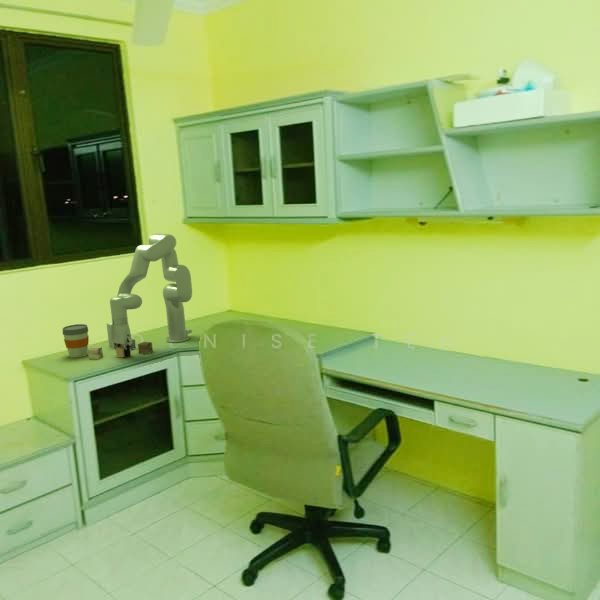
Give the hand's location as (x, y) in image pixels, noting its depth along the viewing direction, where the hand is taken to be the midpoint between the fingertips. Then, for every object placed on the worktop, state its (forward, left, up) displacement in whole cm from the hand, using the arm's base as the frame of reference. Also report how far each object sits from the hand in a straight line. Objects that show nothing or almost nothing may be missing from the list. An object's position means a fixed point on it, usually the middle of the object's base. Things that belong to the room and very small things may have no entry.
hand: (123, 355), depth 305 cm
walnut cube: (-10, +5, -1) cm, 11 cm away
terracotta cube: (0, 0, -1) cm, 1 cm away
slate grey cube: (-11, -9, -1) cm, 14 cm away
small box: (-12, -19, -1) cm, 23 cm away
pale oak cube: (+8, -12, -1) cm, 14 cm away
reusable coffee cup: (+9, -25, -1) cm, 27 cm away
